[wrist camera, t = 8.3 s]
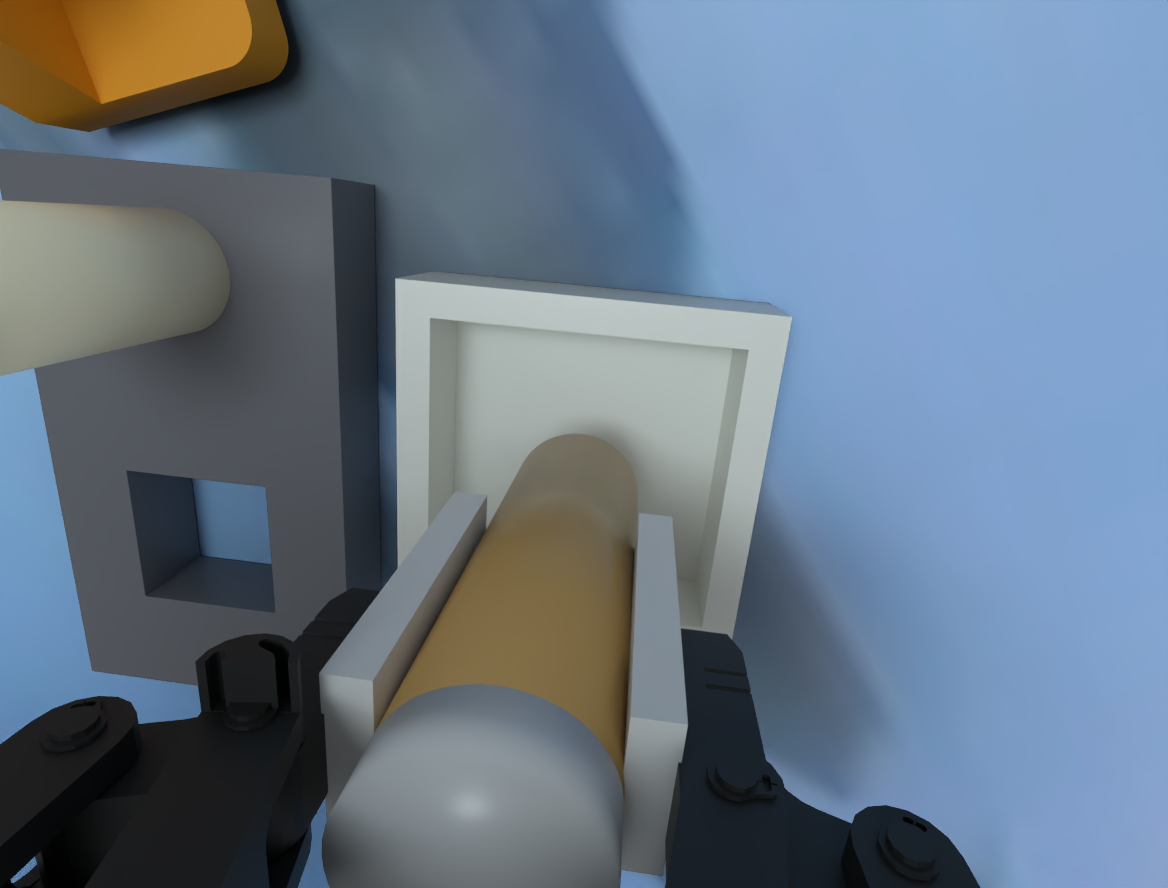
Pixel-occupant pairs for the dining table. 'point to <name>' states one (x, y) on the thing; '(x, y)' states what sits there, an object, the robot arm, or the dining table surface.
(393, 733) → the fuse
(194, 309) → the fuse block
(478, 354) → the parts tray
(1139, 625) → the dining table surface
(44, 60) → the bracket
